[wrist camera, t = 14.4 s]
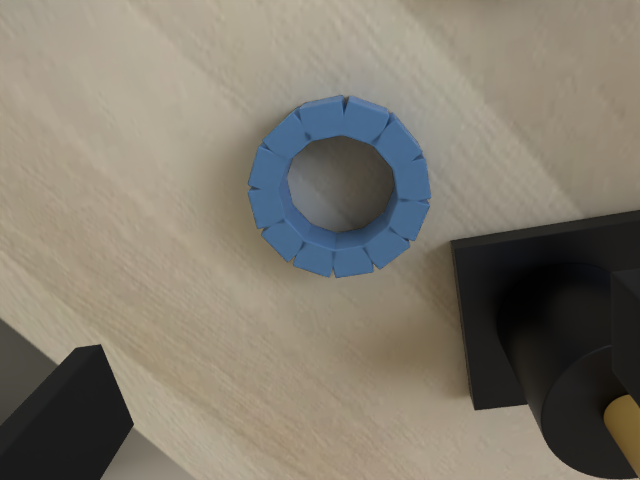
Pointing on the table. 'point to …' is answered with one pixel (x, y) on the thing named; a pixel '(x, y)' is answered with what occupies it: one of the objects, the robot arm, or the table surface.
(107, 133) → the table surface
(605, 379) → the tape holder
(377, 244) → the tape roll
